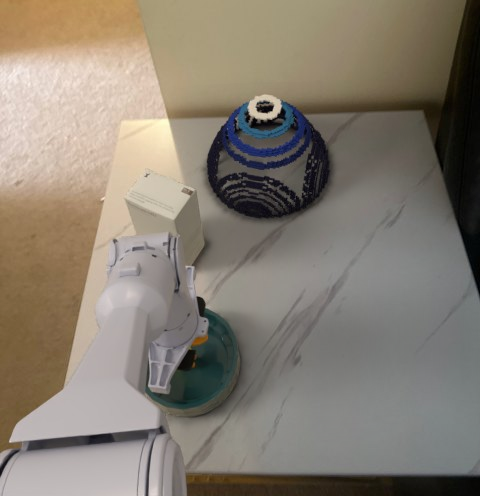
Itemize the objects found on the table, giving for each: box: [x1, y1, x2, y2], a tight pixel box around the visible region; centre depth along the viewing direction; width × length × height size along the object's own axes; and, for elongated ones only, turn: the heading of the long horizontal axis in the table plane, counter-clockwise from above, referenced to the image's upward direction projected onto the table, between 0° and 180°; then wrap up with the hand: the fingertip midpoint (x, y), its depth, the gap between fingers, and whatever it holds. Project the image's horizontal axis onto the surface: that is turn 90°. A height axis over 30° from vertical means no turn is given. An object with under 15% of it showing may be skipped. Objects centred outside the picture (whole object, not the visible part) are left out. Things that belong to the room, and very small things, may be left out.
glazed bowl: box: [145, 307, 241, 418], centre depth 73 cm, size 13×13×4 cm
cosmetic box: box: [123, 168, 206, 266], centre depth 80 cm, size 8×6×15 cm
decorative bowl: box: [206, 93, 331, 219], centre depth 88 cm, size 20×20×14 cm
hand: (184, 351), depth 71 cm, fingers closed on toy figure, 3 cm apart
